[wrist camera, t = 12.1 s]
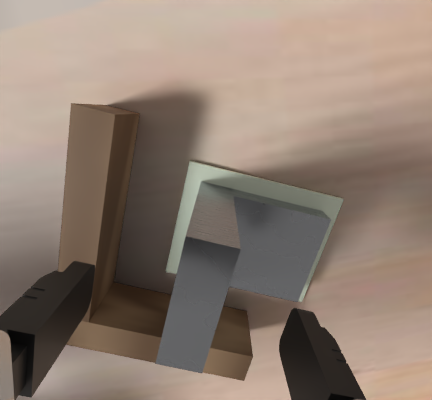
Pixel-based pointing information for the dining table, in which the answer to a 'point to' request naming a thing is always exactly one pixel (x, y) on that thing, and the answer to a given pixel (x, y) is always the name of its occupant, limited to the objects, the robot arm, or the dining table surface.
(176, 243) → the pad
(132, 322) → the wooden corner frame
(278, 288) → the bracket
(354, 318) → the dining table surface
